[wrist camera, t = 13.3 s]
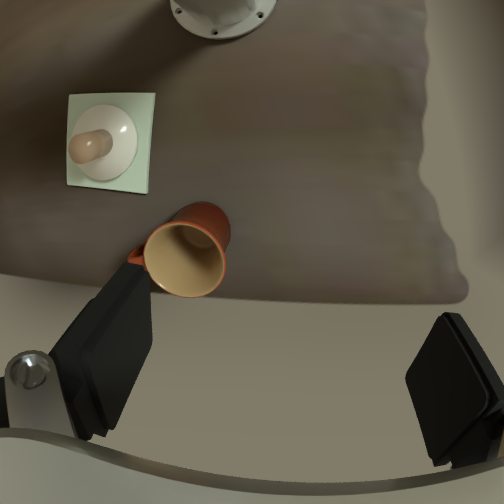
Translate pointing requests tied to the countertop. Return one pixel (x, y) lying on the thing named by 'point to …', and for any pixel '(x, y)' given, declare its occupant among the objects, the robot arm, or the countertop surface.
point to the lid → (104, 142)
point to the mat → (142, 115)
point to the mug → (187, 251)
